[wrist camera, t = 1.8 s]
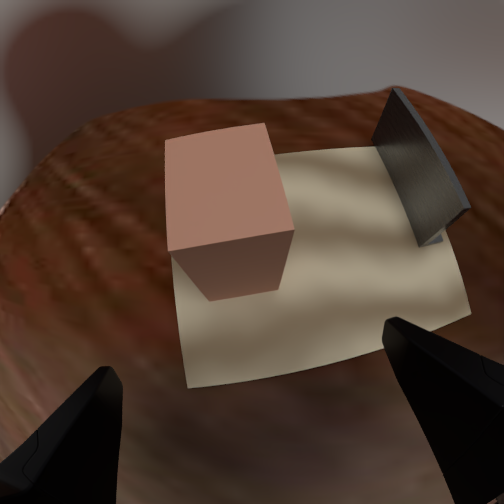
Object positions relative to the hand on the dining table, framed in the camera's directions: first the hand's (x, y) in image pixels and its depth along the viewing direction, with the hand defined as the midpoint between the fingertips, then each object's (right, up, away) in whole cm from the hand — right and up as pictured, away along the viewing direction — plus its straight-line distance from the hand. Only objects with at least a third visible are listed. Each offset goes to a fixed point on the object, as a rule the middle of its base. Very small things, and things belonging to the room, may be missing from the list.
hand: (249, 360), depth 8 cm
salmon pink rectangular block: (-1, +3, +13) cm, 14 cm away
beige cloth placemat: (+6, +4, +14) cm, 16 cm away
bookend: (+14, +9, +15) cm, 22 cm away
